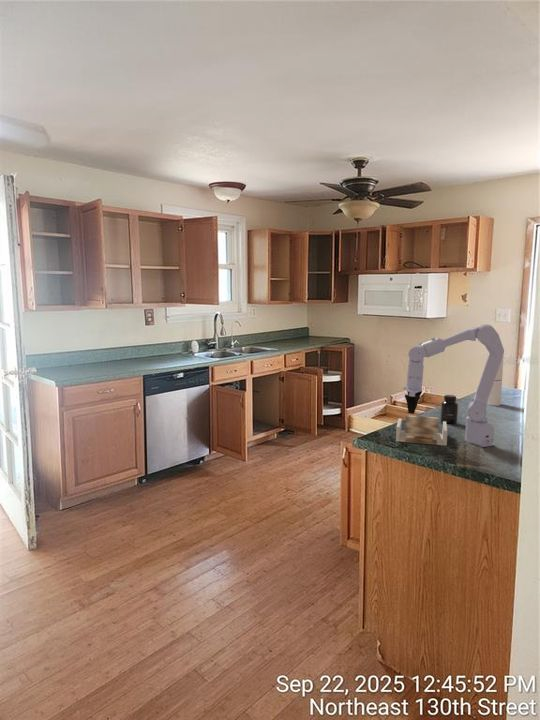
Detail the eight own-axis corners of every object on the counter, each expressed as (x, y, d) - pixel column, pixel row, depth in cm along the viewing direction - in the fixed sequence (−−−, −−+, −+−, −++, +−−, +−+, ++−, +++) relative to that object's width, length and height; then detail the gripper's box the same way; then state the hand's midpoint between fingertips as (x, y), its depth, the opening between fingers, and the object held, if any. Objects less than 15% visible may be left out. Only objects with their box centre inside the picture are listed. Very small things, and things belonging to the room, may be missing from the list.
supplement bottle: (446, 425, 202) (447, 398, 200) (437, 421, 209) (438, 394, 207) (460, 424, 204) (462, 397, 202) (450, 420, 210) (451, 393, 209)
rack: (445, 436, 188) (446, 421, 187) (446, 447, 174) (447, 431, 174) (398, 432, 193) (398, 418, 192) (395, 442, 180) (396, 427, 179)
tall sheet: (437, 436, 185) (438, 417, 184) (437, 437, 183) (438, 418, 182) (405, 433, 189) (406, 415, 188) (405, 435, 187) (405, 416, 186)
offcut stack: (436, 441, 179) (436, 435, 178) (436, 444, 176) (437, 438, 175) (406, 439, 182) (406, 433, 182) (405, 441, 179) (405, 435, 179)
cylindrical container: (481, 403, 242) (484, 354, 238) (491, 401, 245) (494, 353, 241) (493, 406, 235) (496, 355, 232) (503, 404, 238) (506, 354, 235)
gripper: (406, 372, 193) (403, 405, 195) (402, 378, 180) (399, 414, 182) (424, 374, 190) (421, 407, 193) (421, 380, 177) (418, 416, 179)
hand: (412, 410), depth 187 cm, fingers open, 7 cm apart
